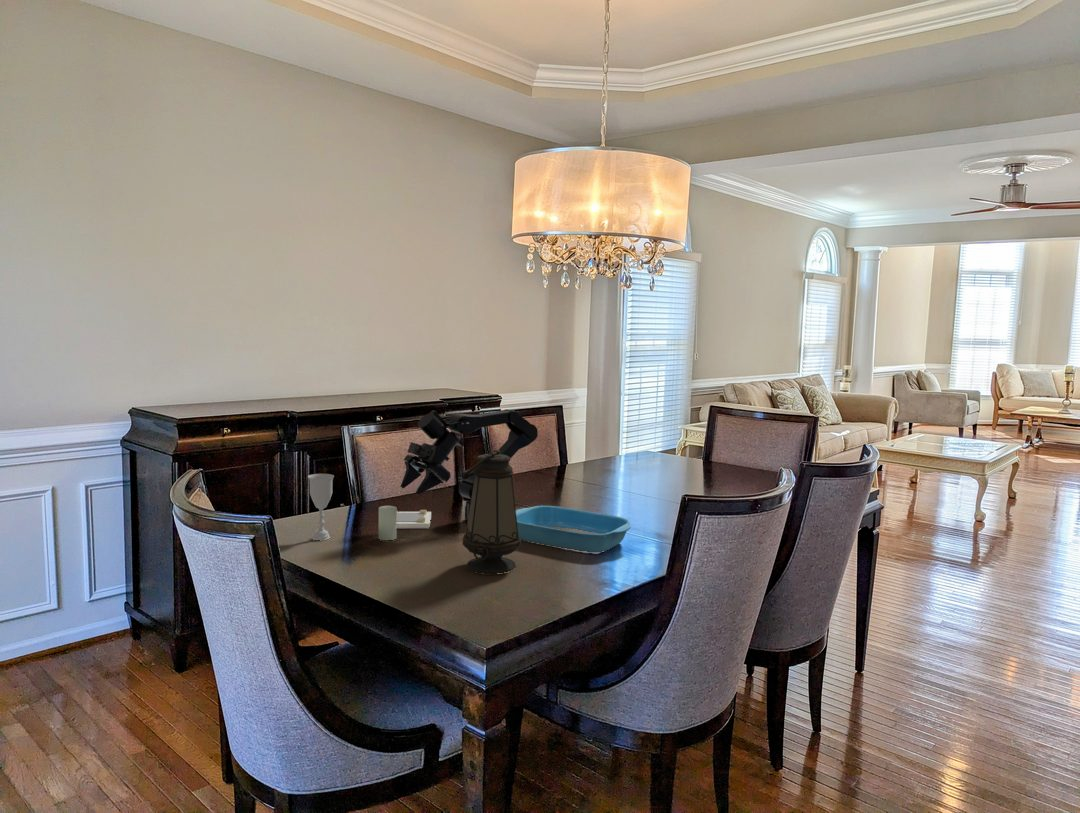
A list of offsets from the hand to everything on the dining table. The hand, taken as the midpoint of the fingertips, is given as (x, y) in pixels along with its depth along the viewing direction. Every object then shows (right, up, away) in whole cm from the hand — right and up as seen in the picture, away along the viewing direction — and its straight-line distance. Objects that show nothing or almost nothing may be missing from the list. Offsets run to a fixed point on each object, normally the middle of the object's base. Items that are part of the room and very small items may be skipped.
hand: (409, 490), depth 212 cm
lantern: (+26, -17, -25) cm, 40 cm away
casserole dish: (+46, -15, -1) cm, 49 cm away
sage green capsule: (-5, -13, -4) cm, 15 cm away
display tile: (-3, -11, +14) cm, 18 cm away
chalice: (-24, -13, -6) cm, 28 cm away
